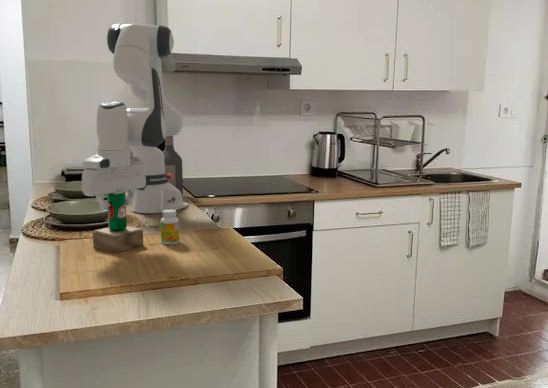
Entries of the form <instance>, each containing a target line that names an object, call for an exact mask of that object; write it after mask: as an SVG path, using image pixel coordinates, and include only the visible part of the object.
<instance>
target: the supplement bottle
mask: <svg viewBox="0 0 548 388" xmlns="http://www.w3.org/2000/svg"><path fill="white" fill-rule="evenodd" d="M162 216H163V217H162V218H161V219H160V240H161V244H162V245H163V244H164V245H176V244H178V243H180V219H179V218H178V217H177V210H171V209H169V210H163V213H162Z"/></svg>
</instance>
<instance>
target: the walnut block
mask: <svg viewBox="0 0 548 388" xmlns="http://www.w3.org/2000/svg"><path fill="white" fill-rule="evenodd" d="M92 244H93V248H94V247H96V248H95V249H98V248H99V250H103V251H106V252H110V251H111V253H114V252H115V254H117V252H118V253H120V251H121V252H124V250H125V251H128V250H131V249H130V248H132V249H134V247H135V248H138V247H137V246H139V247H141V246H140V245H143V246H144V230H143V229H142V228H139V227H134V226H129V225H127V228H126V229H125V230H123V231H111V230H110V229H109V226H108V227H105V228H104V227H103V228H99V229H95V230H94V231H92ZM127 249H128V250H127Z"/></svg>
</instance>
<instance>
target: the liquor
mask: <svg viewBox="0 0 548 388" xmlns="http://www.w3.org/2000/svg"><path fill="white" fill-rule="evenodd" d="M164 141H165V143H164V145H165V147H164V150H163V151H162V152H163V154H164V163H165V173H166V174H168V173H169V174H172V176H173V178H172V179H170V178H169V179H168V181H169V183H170V184H171V185H173V186H174V187H175V188H177V189H178V190H179V191H180V192H181V194H182V196H183V195H184V185H183V183H184V182H183V181H184V180H183V179H184V178H183V159H182V157H181V155H180V154H179V153H178V152H177V151H176V150H175V147H174V146H175V145H174V135H173V136H168V137H165V140H164Z"/></svg>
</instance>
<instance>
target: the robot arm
mask: <svg viewBox="0 0 548 388" xmlns="http://www.w3.org/2000/svg"><path fill="white" fill-rule="evenodd" d="M106 34H107V35H106V44H107V47H108V48H107V49H108V50H109V52H110V53H111V54H113V57H112V58H113V61H112V62H113V63H112V64H113V66H112V67H113V70H114V73H115V74H116V76H117V77H118V78H119V79H120V80H121V81H123V82H124V83H126V84H128V85H130V87H131V88H130V89H131V92H132V94H133V96H134V97H135V98H137V99H140V100H141V101H144V102H145V103H147V105H148V107H128V108H127V106H126V103H125V102H121V101H116V100H114V101H113V100H112V101H105V102H104V101H103V102H101V103H99V104H98V106H97V112H96V135H97V140H98V145H97V153H95V154H93V155H92V156H89V157H88V158H86V159H84V160H83V161H82V163H81V164H82V167H83V168H84V169H83V171H82V173H81V189H82V190H81V191H82V193H83V194H84V196H87V197H95V199H96V201H97V202H98V203H99V209H100V210H101V211H106V210H107V211H108V203H106V201H105V200H104V199H106V197H105V195H107V194H109V193H115V192H116V190H122V189H124V191H125V192H126V193H127V196H126V206H132V205H133V206H132V209H131V211H132V212H134V213H138V214H163V210H169V209H171V210H176V211H178V210H181V209H186V208H188V207H189V203H187V202H185V201H183V195H182V194H181V192H180V191H179V190H178V189H177V188H175V187H174V186H173V185H171V184H170V183H169V181H168V179H169V178H170V179H172V178H173V176H172V174H169V173H168V174H166V173H165V163H164V154H163V152H164V151H162V150H161V149H160V148H158V146H160V145H161V144H162V143H163V142H164V141H165V137H168V136H173V137H174V136H177V135H179V133H180V132H182V130H183V126H184V119H183V116H182V114H181V113H180V111H179V110H178V109H176V108H175V107H173V106H172V105H171V103H170V102H169V101H168V99H167V97H166V95H165V93H164V86H163V74H162V73H163V71H162V70H163V69H162V68H163V67H162V59H164V58H167V57H169V56H170V55H171V53H172V51H173V48H174V45H175V44H174V43H175V41H174V36H173V33H172V30H171V29H170V27H168V26H165V25H161V24H160V25H155V24H149V23H124V24H122V23H115V24H112V25H111V26H110V27H109V28H108V29H107V33H106ZM131 152H132V154H133V157H131Z"/></svg>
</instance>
